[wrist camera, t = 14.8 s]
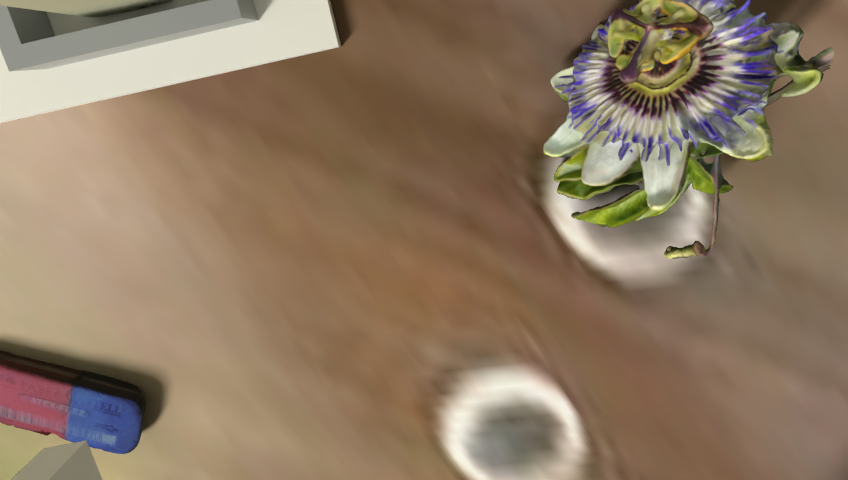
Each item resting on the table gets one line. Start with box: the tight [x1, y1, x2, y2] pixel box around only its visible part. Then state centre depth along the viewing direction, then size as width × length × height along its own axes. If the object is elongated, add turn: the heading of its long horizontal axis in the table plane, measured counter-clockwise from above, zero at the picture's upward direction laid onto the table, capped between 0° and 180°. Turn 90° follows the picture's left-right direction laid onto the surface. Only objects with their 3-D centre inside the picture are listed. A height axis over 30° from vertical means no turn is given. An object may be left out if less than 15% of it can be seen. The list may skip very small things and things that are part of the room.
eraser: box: [0, 350, 146, 454], centre depth 38 cm, size 11×4×2 cm, turn 74°
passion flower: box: [543, 0, 834, 259], centre depth 30 cm, size 11×11×12 cm
